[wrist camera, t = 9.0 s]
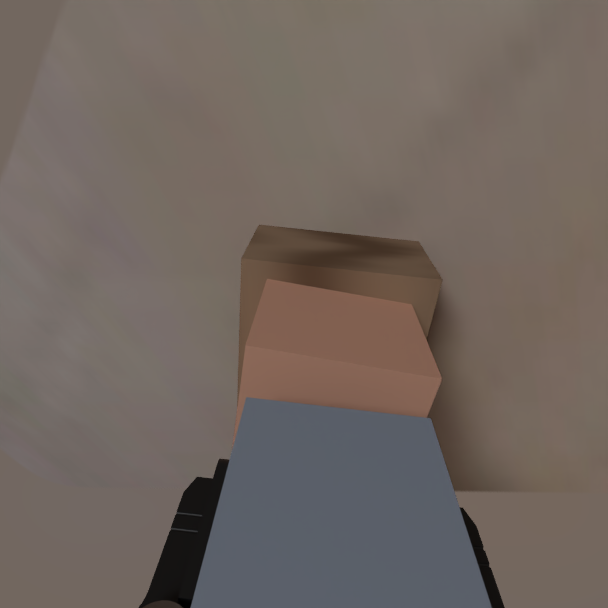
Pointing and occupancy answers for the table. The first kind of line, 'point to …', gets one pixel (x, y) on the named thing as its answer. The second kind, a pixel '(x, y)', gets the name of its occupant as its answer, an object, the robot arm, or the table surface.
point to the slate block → (337, 515)
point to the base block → (336, 270)
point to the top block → (337, 352)
